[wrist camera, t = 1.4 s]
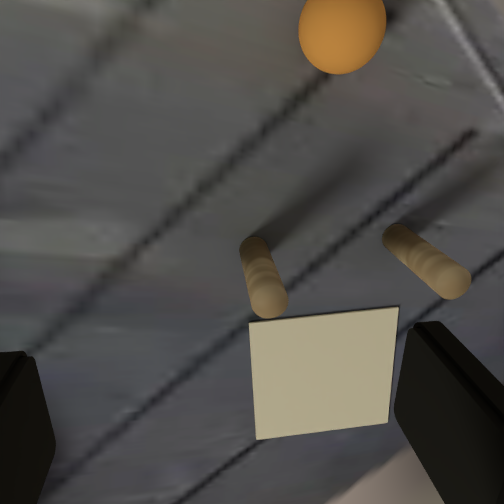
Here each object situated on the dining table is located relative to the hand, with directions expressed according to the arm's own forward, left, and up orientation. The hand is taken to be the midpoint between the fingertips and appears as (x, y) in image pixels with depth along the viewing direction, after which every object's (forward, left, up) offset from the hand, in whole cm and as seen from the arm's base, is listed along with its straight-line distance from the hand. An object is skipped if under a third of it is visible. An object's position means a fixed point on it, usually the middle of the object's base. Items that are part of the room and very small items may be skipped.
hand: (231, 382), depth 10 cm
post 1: (+6, +3, -24) cm, 25 cm away
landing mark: (+20, +9, -24) cm, 32 cm away
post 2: (+6, +15, -24) cm, 29 cm away
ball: (-10, +9, -21) cm, 25 cm away
